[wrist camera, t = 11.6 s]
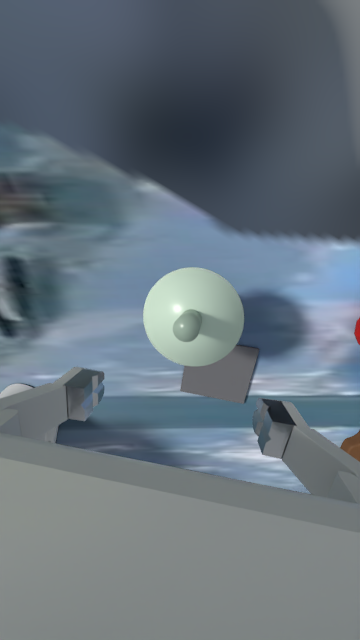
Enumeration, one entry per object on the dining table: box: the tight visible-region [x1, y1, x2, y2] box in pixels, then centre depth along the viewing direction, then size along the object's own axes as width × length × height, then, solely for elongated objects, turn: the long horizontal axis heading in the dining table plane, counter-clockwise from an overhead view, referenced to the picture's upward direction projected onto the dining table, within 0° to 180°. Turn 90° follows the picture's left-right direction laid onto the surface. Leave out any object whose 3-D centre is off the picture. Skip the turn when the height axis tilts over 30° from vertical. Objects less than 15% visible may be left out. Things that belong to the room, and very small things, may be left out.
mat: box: [180, 345, 259, 404], centre depth 39 cm, size 13×14×1 cm
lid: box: [143, 268, 244, 366], centre depth 22 cm, size 13×13×5 cm
